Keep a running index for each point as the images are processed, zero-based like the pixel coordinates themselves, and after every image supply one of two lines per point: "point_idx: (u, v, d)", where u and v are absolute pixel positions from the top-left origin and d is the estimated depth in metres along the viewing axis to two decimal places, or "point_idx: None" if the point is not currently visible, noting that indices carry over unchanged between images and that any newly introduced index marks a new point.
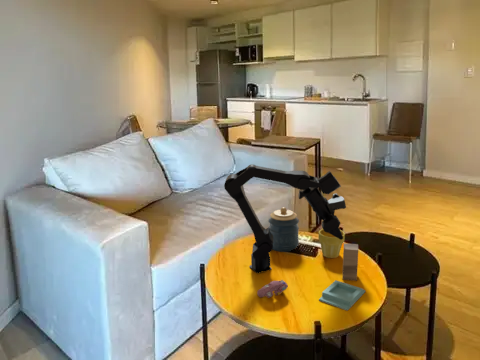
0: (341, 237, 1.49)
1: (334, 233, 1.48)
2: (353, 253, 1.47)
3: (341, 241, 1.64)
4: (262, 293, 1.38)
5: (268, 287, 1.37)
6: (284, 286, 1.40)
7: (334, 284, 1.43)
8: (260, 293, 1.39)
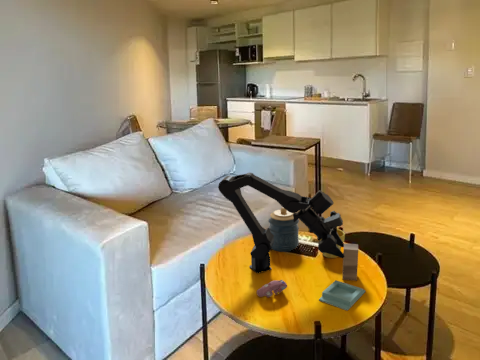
0: (342, 255, 1.45)
1: (333, 252, 1.45)
2: (353, 253, 1.47)
3: None
4: (261, 293, 1.38)
5: (267, 287, 1.37)
6: (283, 286, 1.40)
7: (334, 284, 1.43)
8: (260, 292, 1.39)
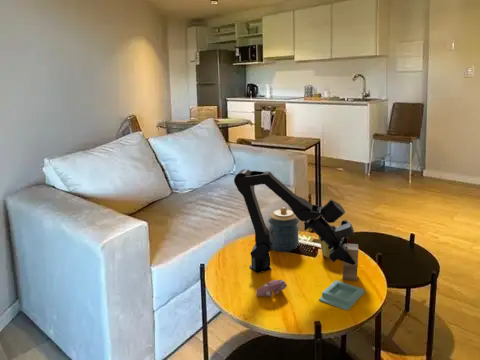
0: (353, 262, 1.47)
1: (344, 259, 1.47)
2: (353, 253, 1.47)
3: None
4: (261, 292, 1.38)
5: (267, 286, 1.37)
6: (283, 285, 1.40)
7: (334, 284, 1.43)
8: (259, 292, 1.39)
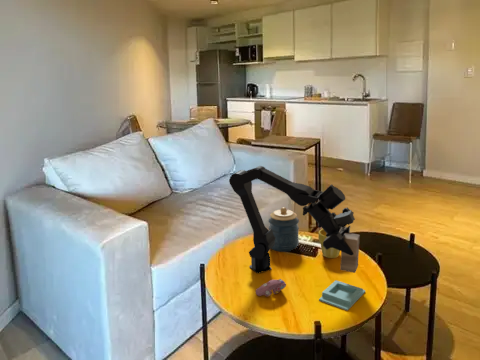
0: (350, 253, 1.39)
1: (341, 248, 1.39)
2: (351, 243, 1.39)
3: None
4: (260, 292, 1.38)
5: (266, 286, 1.38)
6: (282, 285, 1.40)
7: (334, 284, 1.43)
8: (258, 291, 1.40)
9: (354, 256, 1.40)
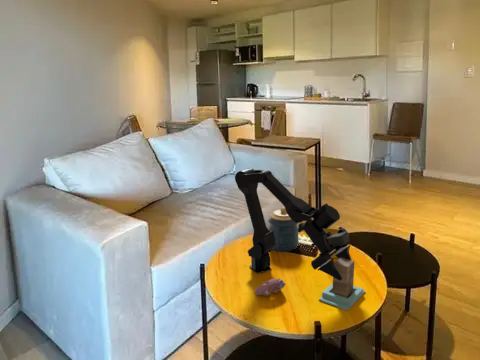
0: (339, 278, 1.33)
1: (329, 272, 1.34)
2: (342, 269, 1.34)
3: None
4: (260, 291, 1.39)
5: (266, 285, 1.38)
6: (281, 284, 1.41)
7: None
8: (258, 291, 1.40)
9: (345, 283, 1.35)
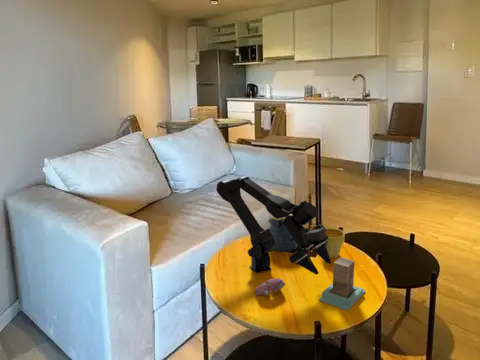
0: (315, 272, 1.38)
1: (306, 266, 1.39)
2: (342, 269, 1.34)
3: (341, 241, 1.64)
4: (259, 291, 1.39)
5: (265, 285, 1.38)
6: (281, 284, 1.41)
7: None
8: (257, 291, 1.40)
9: (345, 283, 1.35)
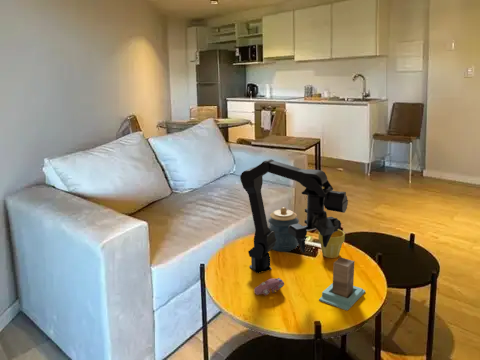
0: (302, 250, 1.44)
1: (298, 241, 1.43)
2: (342, 269, 1.34)
3: (341, 241, 1.64)
4: (259, 291, 1.39)
5: (265, 285, 1.39)
6: (281, 284, 1.41)
7: None
8: (257, 290, 1.40)
9: (345, 283, 1.35)
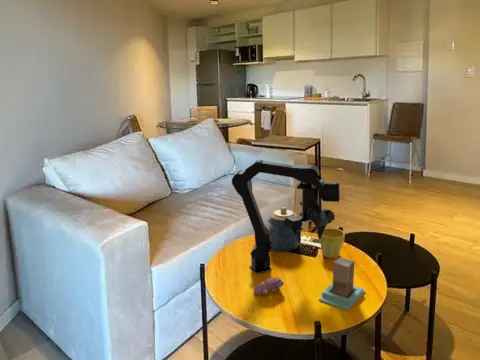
0: (298, 241, 1.50)
1: (294, 233, 1.50)
2: (342, 269, 1.34)
3: (341, 241, 1.64)
4: (258, 290, 1.40)
5: (264, 284, 1.39)
6: (280, 283, 1.41)
7: None
8: (256, 290, 1.41)
9: (345, 283, 1.35)
